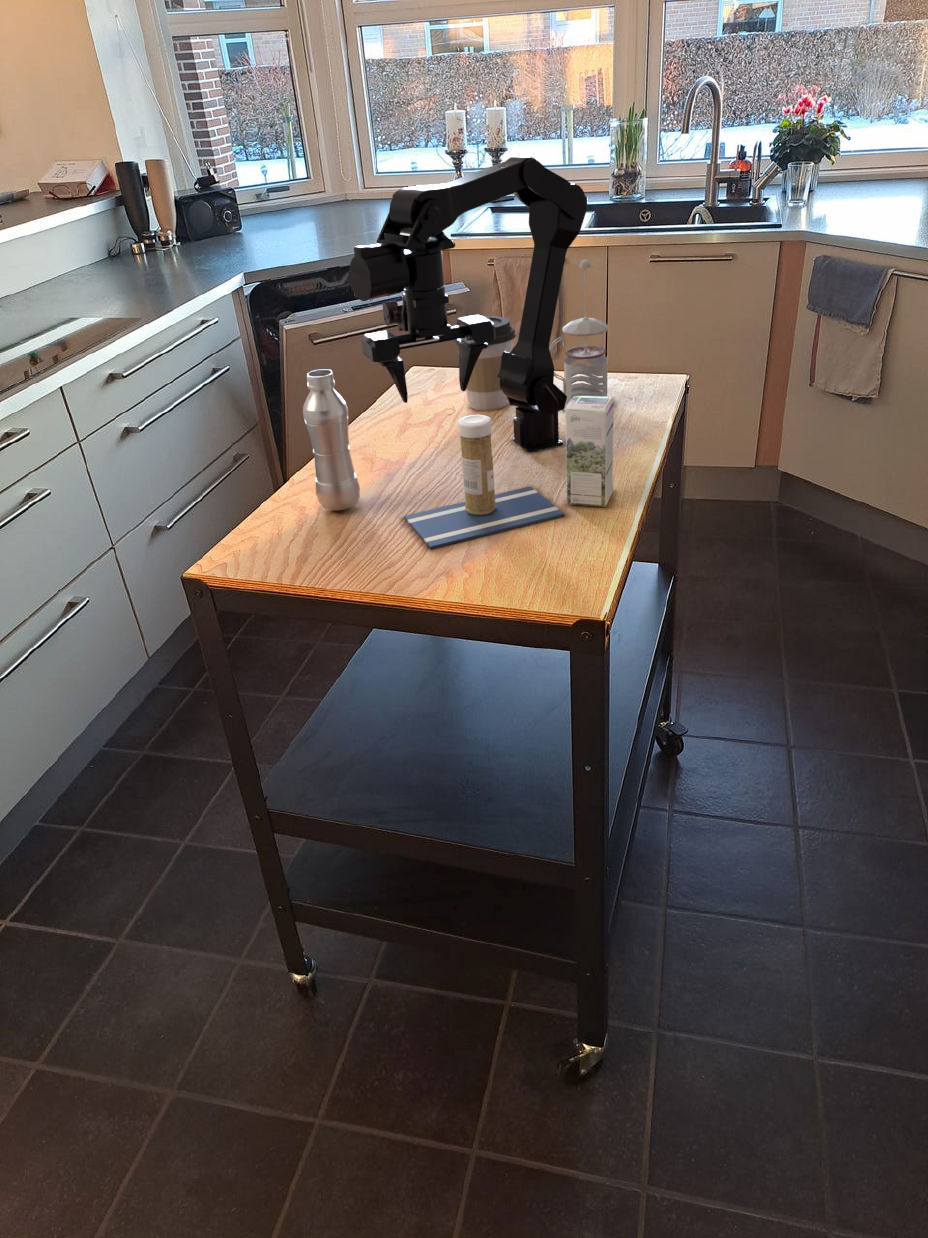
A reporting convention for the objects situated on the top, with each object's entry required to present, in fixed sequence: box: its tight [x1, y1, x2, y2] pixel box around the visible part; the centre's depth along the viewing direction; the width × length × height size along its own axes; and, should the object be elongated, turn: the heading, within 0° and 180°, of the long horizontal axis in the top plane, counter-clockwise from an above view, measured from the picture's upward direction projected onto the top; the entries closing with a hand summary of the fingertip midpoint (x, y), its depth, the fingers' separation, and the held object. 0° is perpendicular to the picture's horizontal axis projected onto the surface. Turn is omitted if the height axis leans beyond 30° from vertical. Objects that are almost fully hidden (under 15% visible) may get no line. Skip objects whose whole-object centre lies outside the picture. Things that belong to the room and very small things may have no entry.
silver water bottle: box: [302, 368, 361, 511], centre depth 132 cm, size 6×7×20 cm
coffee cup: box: [452, 315, 517, 412], centre depth 168 cm, size 11×11×15 cm
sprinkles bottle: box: [457, 414, 496, 515], centre depth 128 cm, size 5×5×13 cm
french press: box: [549, 259, 610, 412], centre depth 161 cm, size 10×12×25 cm
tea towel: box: [403, 485, 565, 550], centre depth 130 cm, size 20×11×1 cm, turn 112°
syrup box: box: [564, 396, 615, 508], centre depth 129 cm, size 6×6×14 cm
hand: (434, 396), depth 137 cm, fingers open, 9 cm apart
